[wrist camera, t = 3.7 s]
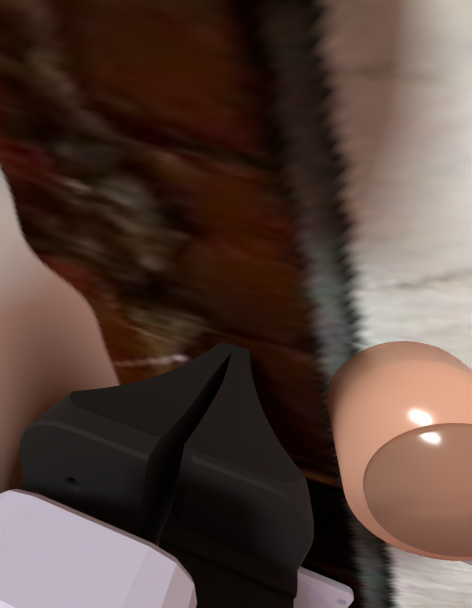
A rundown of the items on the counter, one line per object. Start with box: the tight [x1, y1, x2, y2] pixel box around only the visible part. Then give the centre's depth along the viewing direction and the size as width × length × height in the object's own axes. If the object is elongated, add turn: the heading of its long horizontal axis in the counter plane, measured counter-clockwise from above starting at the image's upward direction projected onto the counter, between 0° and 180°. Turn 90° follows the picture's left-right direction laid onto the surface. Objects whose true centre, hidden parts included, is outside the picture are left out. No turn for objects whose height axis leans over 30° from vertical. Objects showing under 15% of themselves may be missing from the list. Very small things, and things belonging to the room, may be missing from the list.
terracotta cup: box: [327, 341, 472, 561], centre depth 10 cm, size 6×6×4 cm
